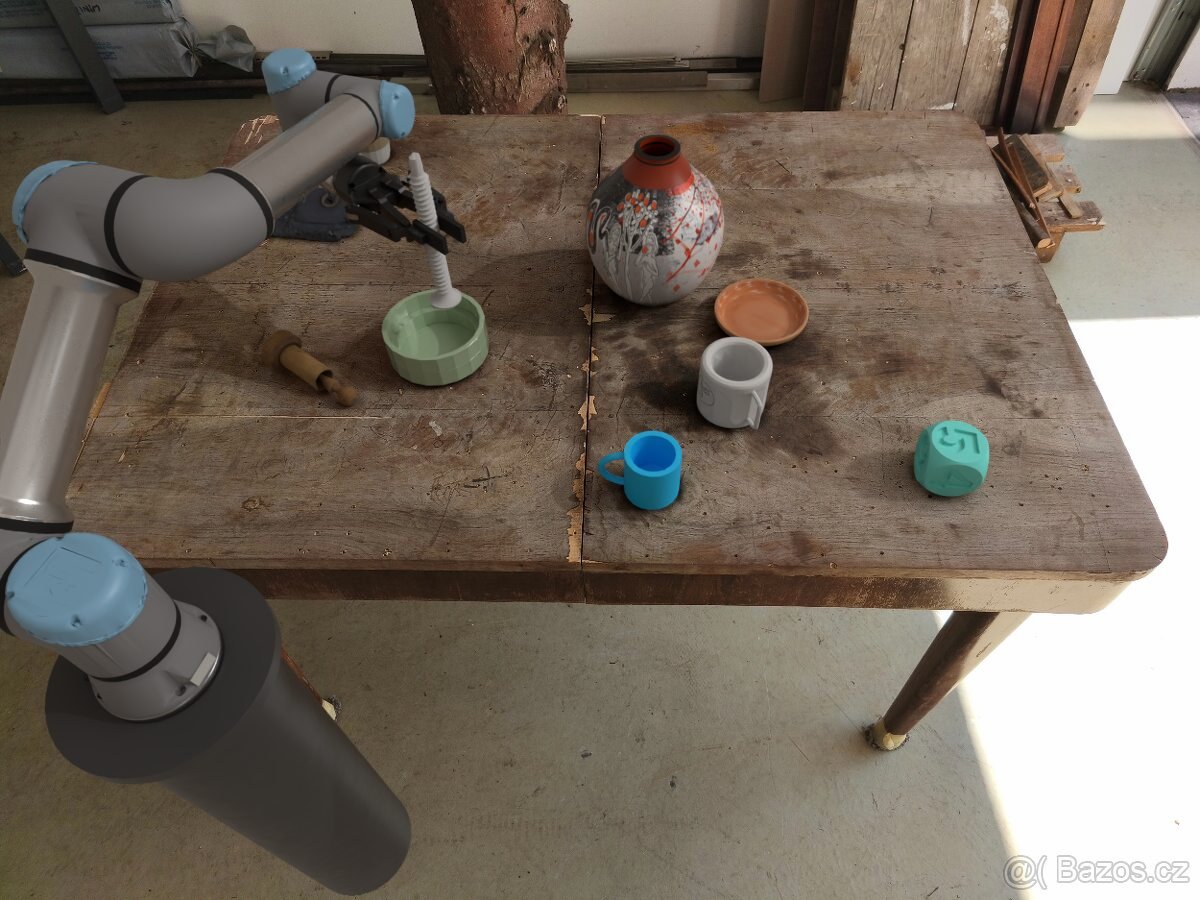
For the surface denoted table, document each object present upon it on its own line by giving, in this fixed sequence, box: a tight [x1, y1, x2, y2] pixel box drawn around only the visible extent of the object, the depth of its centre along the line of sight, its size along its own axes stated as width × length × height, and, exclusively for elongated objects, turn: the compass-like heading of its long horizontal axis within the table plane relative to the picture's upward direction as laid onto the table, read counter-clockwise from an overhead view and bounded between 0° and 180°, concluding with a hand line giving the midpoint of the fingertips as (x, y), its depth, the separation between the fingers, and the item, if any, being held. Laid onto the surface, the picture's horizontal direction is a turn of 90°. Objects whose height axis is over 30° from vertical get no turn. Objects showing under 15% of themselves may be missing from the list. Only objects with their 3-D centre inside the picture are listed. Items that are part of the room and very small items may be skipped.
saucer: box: [713, 277, 810, 347], centre depth 139 cm, size 16×16×3 cm
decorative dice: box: [913, 419, 990, 497], centre depth 116 cm, size 8×8×8 cm
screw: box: [408, 151, 462, 310], centre depth 118 cm, size 5×26×5 cm
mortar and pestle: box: [260, 329, 360, 407], centre depth 132 cm, size 7×6×18 cm
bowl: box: [381, 288, 490, 386], centre depth 135 cm, size 17×17×7 cm
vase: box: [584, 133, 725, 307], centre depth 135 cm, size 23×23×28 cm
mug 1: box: [597, 430, 683, 511], centre depth 116 cm, size 12×8×8 cm
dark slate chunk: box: [270, 186, 358, 242], centre depth 160 cm, size 15×22×5 cm
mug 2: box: [696, 336, 774, 430], centre depth 124 cm, size 14×11×10 cm
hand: (454, 240), depth 114 cm, fingers closed on screw, 3 cm apart
